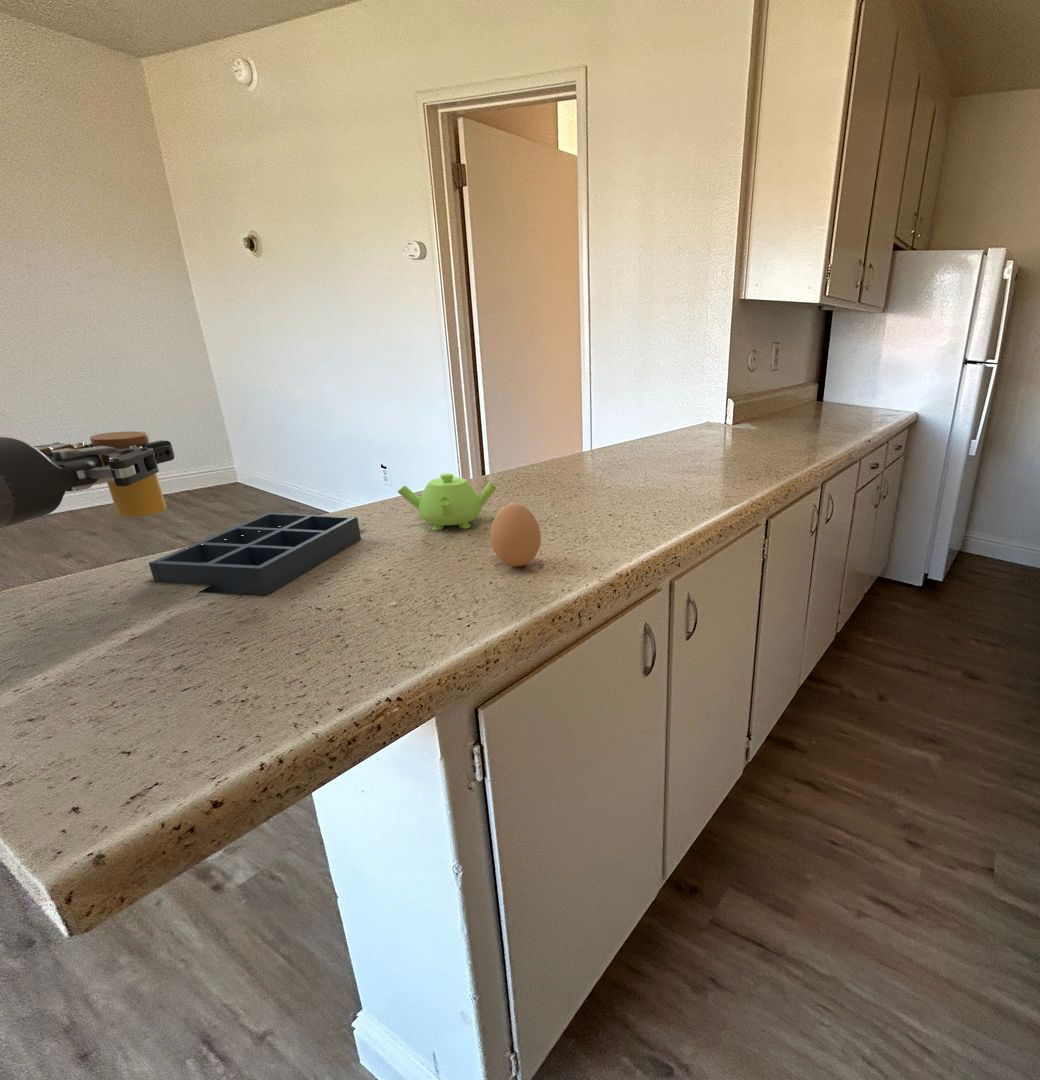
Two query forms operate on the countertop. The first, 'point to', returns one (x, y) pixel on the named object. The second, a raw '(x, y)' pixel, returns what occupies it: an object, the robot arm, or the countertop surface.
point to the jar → (138, 495)
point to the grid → (259, 553)
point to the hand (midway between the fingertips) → (148, 448)
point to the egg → (515, 535)
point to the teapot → (448, 501)
